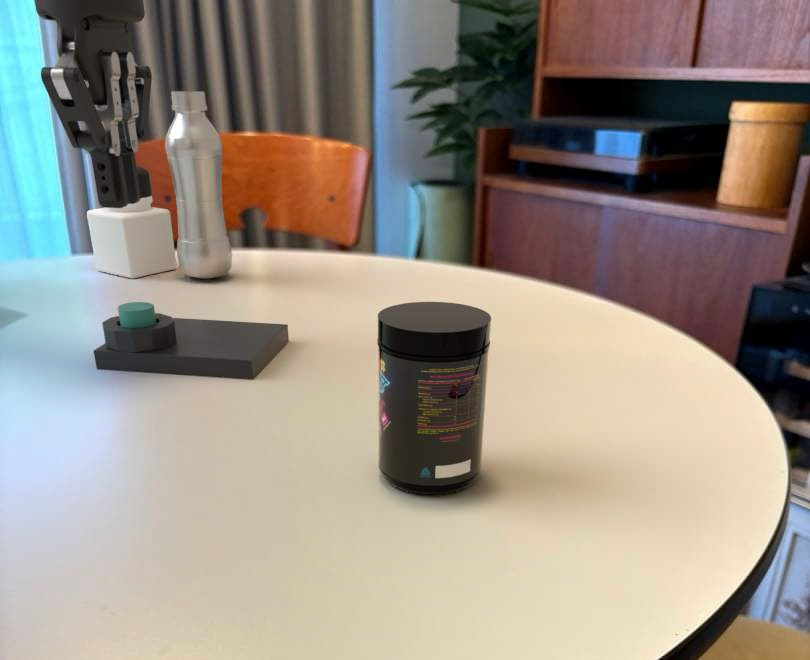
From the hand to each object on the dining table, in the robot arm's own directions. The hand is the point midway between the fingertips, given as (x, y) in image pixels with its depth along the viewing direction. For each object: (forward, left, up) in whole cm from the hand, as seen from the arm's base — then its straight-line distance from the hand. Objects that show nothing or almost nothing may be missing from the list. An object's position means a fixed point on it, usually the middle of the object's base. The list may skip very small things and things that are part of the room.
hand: (120, 204), depth 67 cm
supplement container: (+28, -18, -13) cm, 36 cm away
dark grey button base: (+4, +3, -13) cm, 14 cm away
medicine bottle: (-16, +34, -13) cm, 39 cm away
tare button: (0, 0, -10) cm, 10 cm away
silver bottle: (-6, +32, -13) cm, 35 cm away
